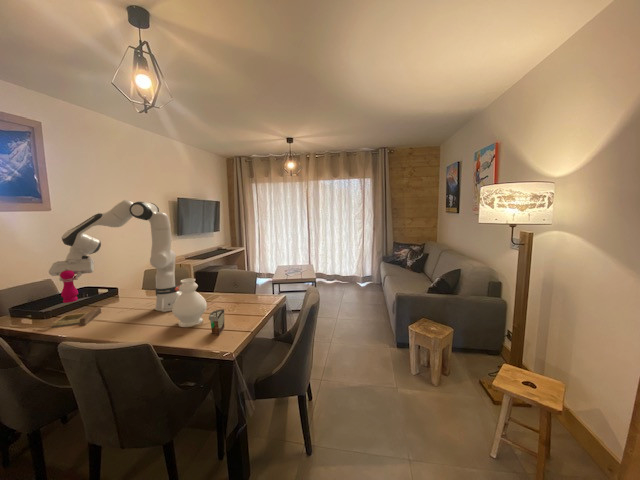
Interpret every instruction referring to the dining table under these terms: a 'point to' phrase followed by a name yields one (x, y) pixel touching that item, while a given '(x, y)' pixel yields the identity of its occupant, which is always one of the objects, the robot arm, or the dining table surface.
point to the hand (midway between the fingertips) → (68, 279)
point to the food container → (217, 321)
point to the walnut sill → (90, 316)
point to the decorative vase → (189, 304)
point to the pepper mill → (68, 286)
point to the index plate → (68, 320)
